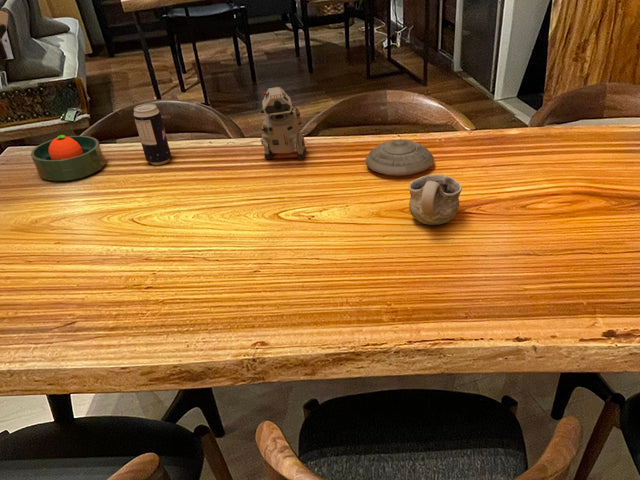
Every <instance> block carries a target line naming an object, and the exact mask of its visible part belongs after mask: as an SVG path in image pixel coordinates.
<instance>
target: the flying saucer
mask: <svg viewBox="0 0 640 480" xmlns="http://www.w3.org/2000/svg"><path fill="white" fill-rule="evenodd" d="M434 162H435V158H434V155H433V154H432V152H431V151H430V150H429V149H428V148H427V147H426V146H424V145H422V144H421V143H419V142H416V141H413V140H409V139H392V140H388V141H385V142H382V143H380V144H378V145H377V146H375V147H374V148H372V149H371V150H370V151H369V153H368V154H367V155H366V157H365V160H364V163H365V165H366V166H367V167H368V168H369V169H370V170H372V171H373V172H376V173H379V174H382V175H385V176H386V175H387V176H408V175H409V176H410V175H415V174H418V173H422V172H423V171H425V170H427V169H429V168H430V167H431V166H432V165H433V164H434Z"/></svg>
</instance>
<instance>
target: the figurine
mask: <svg viewBox="0 0 640 480" xmlns="http://www.w3.org/2000/svg"><path fill="white" fill-rule="evenodd" d="M262 94H263V95H264V98H263V99H262V103H261V104H262V110H260V113H261V114H262V115H263V114H265V116H264V119H263V122H262V124H261V128H260V129H261V131H262V132H263V133H262V134H261V138H260V139H259V141H260V144H261V145H262V146H263V150H264V154H263V155H264V159H265V160H271V158H272V156H273V155H274V154H291V153H294V152H297V160H299V161H303V160H304V159H305V156H306V154H307V147H306V144H305V137H304V133H303V132H300V128H299V126H300V125H302V124H303V123H302V119H301V111H300V109H298V108H297V107H295V106H294V107H293V104H292V100H291V97H290V96H289V95H288V94H287V93H286V92H285V90H284V89H283V88H282V87H281V86H275V87H269V88H267V90H266V91H263V93H262ZM294 109H295V111H293V110H294Z"/></svg>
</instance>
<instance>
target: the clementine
mask: <svg viewBox="0 0 640 480" xmlns="http://www.w3.org/2000/svg"><path fill="white" fill-rule="evenodd" d="M53 139H54V140H53ZM53 139H52V140H53V141H52V142H51V143H50V146H49V155H50V158H51V160H61V159H68V158H72V157H76V156H79V155H82V154H83V150H82V148H81V146H80V145H79V143H78V142H77V141H75V140H74V139H72V138H70V137H68V136H66V135H65V134H60V135H58V136H57V137H55V138H53Z"/></svg>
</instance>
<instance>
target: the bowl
mask: <svg viewBox="0 0 640 480" xmlns="http://www.w3.org/2000/svg"><path fill="white" fill-rule="evenodd" d="M67 137H70V138H72V139H74V140H75V141H77V142H78V143H79V145H80V146H81V148H82V150H83V154H82V155H79V156H76V157H72V158H68V159H61V160H51V158H50V155H49V146H50V143H51V142H52V141H53V140H54V139H55V138H53V139H50V140H48V141H45V142H42V143H41V144H39V145H37V146H35V147H34V148H33V149H32V150H31V151H30V157H31V159H32V162H33V164H34V168H35V169H36V171H37V174H38V175H39V177H40V178H41V179H44V180H46V181H47V180H48V181H55V182H60V181H61V182H63V181H64V182H66V181H74V180H78V179H83V178H85V177H89V176H90V175H93V174H94V173H97V172H98V171H99V170H101V169H102V168H103V167H104V166H105V165H106V159H105V157H104V153H103V150H102V148H101V144H100V140H98V139H97V138H95V137H92V136H89V135H88V136H87V135H69V136H67Z"/></svg>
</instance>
